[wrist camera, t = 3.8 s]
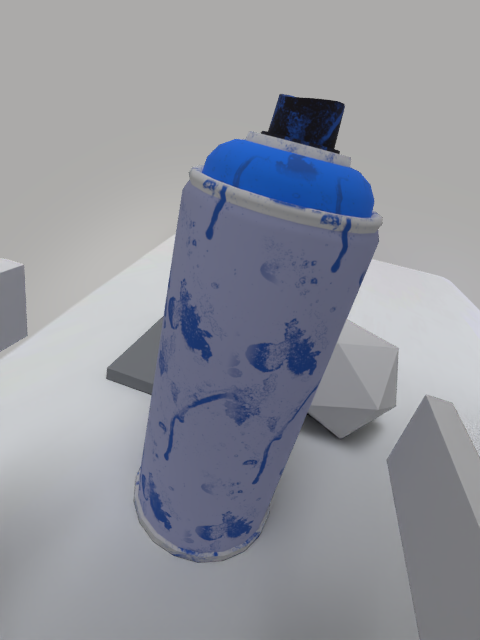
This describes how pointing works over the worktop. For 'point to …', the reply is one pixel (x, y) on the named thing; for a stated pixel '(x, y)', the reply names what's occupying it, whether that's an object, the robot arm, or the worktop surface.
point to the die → (356, 381)
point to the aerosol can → (250, 325)
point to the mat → (138, 361)
